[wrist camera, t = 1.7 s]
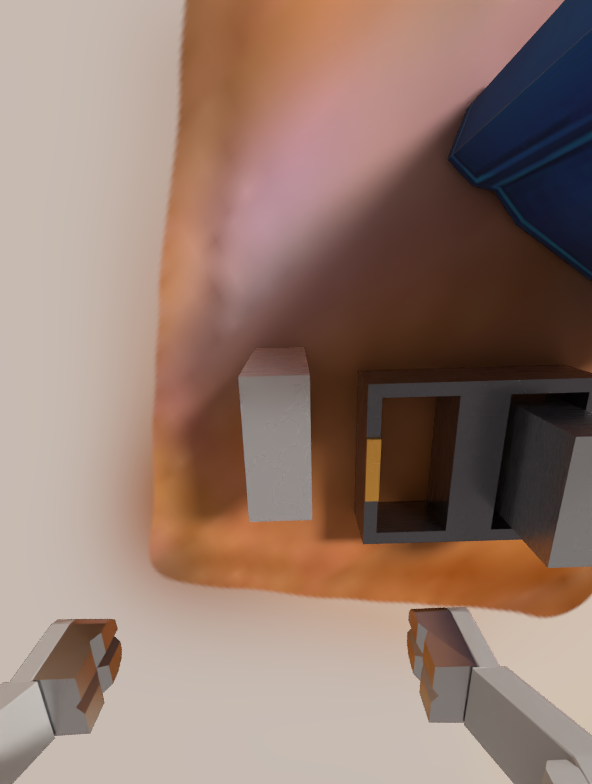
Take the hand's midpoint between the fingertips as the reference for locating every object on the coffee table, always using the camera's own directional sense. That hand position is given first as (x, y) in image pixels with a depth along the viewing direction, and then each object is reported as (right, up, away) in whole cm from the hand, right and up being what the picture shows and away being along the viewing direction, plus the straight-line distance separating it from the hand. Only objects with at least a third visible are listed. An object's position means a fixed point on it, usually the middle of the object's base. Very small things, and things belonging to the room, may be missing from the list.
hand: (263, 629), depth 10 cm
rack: (+14, +2, +20) cm, 25 cm away
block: (0, +6, +19) cm, 20 cm away
